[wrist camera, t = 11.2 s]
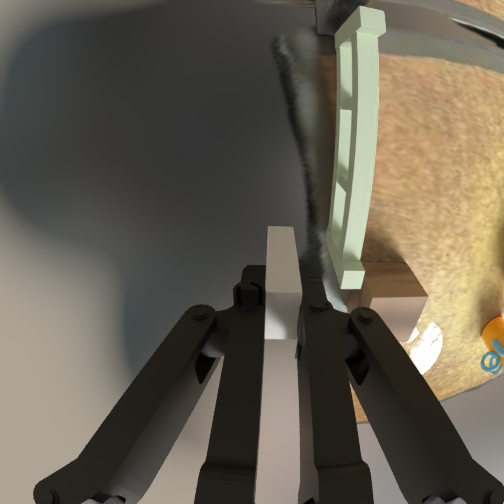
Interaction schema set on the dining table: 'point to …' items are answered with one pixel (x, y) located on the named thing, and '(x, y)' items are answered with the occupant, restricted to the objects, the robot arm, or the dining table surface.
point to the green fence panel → (354, 141)
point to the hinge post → (336, 14)
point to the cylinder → (494, 344)
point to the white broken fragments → (426, 347)
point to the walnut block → (391, 296)
